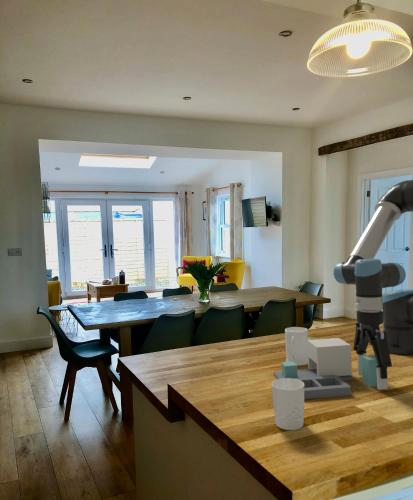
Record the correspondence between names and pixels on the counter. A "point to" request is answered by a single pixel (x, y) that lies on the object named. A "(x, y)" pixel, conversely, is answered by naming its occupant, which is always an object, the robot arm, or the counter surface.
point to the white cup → (288, 403)
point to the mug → (296, 345)
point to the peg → (369, 370)
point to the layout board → (300, 372)
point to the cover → (329, 357)
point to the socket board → (324, 387)
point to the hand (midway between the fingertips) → (372, 381)
